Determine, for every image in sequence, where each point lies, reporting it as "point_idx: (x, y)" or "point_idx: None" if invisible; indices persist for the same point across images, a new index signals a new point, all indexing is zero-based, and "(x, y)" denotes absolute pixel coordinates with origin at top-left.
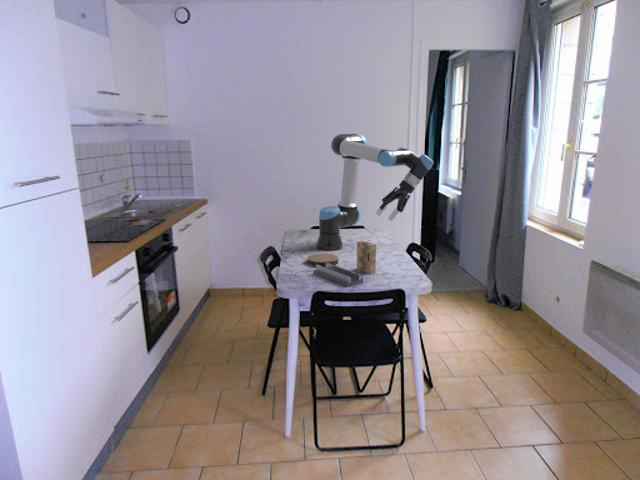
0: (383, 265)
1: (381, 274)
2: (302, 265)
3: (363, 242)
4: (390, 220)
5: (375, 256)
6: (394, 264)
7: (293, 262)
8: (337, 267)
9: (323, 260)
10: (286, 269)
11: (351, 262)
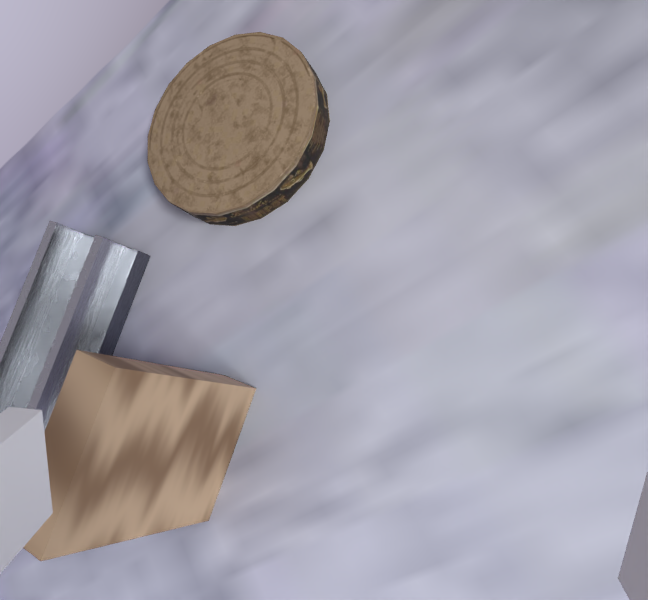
0: (377, 510)
1: (192, 575)
2: (157, 100)
3: (62, 419)
4: (627, 559)
5: (125, 538)
6: (451, 589)
7: (179, 31)
8: (56, 337)
9: (177, 166)
10: (84, 96)
11: (326, 270)
